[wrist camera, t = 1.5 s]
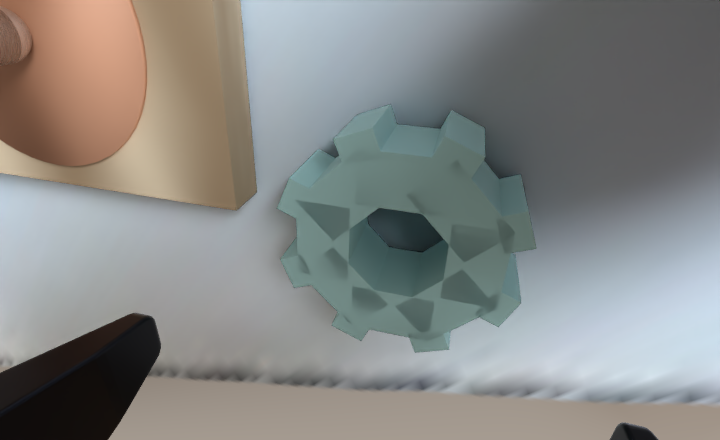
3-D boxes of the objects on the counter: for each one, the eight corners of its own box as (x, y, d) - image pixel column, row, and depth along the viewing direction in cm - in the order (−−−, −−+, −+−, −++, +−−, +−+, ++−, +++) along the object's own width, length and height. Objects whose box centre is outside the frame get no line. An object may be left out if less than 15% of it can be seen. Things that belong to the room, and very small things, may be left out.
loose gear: (549, 119, 12) (564, 148, 10) (499, 317, 15) (501, 371, 13) (305, 95, 13) (271, 116, 11) (309, 281, 17) (284, 324, 15)
